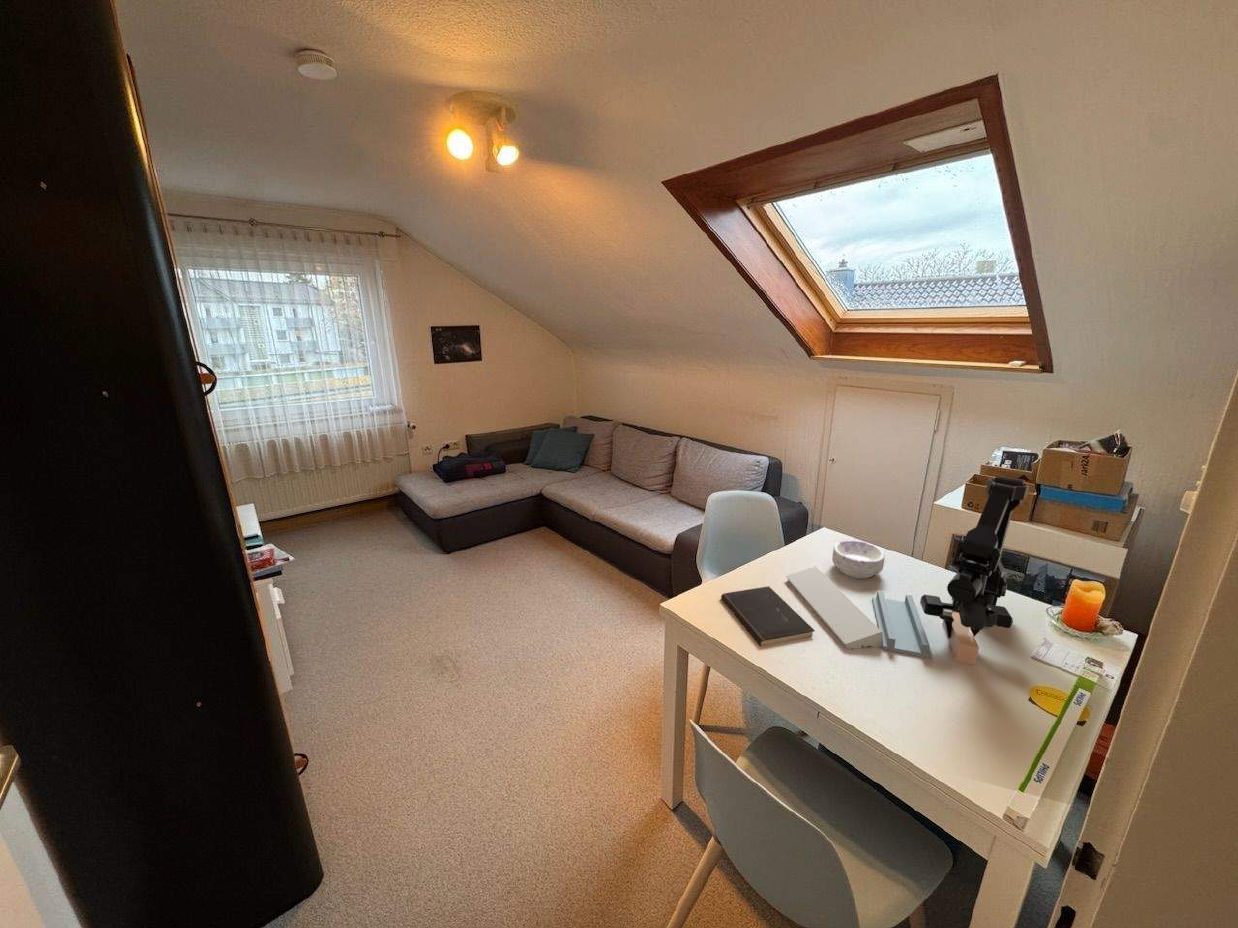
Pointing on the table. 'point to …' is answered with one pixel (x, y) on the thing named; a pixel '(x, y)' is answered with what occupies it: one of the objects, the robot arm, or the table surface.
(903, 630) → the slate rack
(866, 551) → the white purple speckled bowl
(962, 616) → the robot arm
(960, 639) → the clay strip
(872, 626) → the light grey long wedge
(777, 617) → the hardcover book
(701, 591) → the table surface
